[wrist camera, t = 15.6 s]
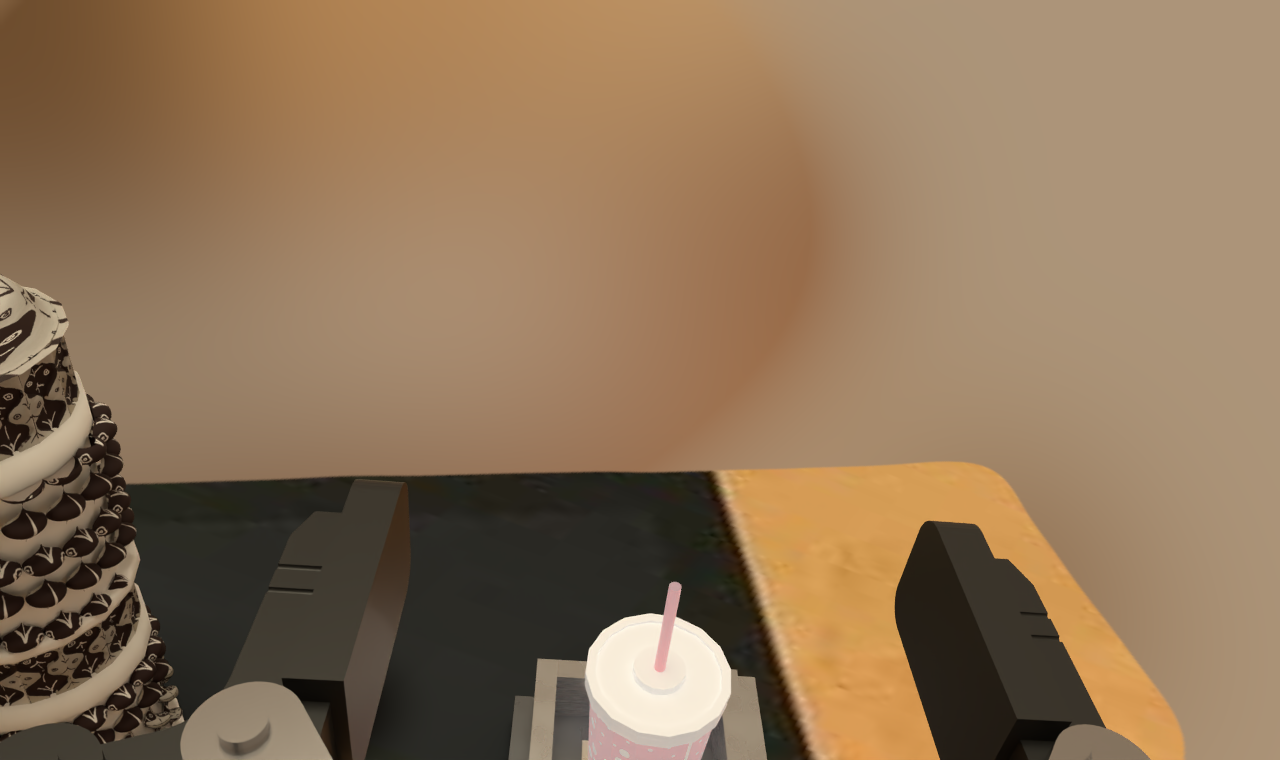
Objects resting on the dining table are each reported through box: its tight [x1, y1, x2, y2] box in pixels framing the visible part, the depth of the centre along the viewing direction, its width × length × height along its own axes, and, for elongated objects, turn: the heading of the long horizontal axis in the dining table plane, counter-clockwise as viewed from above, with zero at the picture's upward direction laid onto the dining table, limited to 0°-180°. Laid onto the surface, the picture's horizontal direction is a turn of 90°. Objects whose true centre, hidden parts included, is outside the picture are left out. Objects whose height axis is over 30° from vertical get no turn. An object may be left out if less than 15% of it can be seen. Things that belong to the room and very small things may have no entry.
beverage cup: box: [585, 582, 731, 760], centre depth 39 cm, size 6×6×14 cm
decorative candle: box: [0, 274, 184, 744], centre depth 36 cm, size 9×9×25 cm
